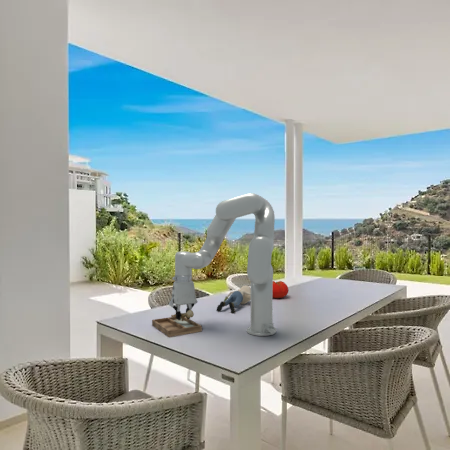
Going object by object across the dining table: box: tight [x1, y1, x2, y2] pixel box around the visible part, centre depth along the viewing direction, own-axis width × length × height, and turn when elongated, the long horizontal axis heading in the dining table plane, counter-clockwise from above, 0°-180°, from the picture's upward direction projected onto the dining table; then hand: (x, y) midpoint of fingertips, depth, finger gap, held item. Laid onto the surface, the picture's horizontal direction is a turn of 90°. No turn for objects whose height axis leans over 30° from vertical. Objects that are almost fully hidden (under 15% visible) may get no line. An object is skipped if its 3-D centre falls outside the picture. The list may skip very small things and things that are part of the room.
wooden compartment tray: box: [151, 316, 203, 338], centre depth 170 cm, size 21×15×2 cm
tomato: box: [272, 280, 289, 299], centre depth 236 cm, size 14×16×10 cm
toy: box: [216, 284, 251, 314], centre depth 211 cm, size 23×10×30 cm
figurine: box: [170, 309, 195, 321], centre depth 172 cm, size 4×4×15 cm
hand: (183, 318), depth 172 cm, fingers closed on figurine, 4 cm apart
